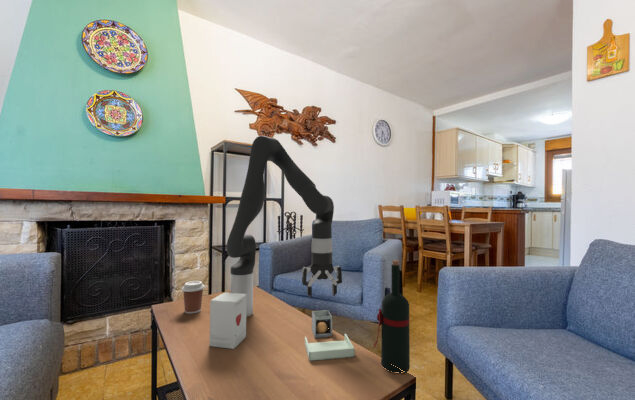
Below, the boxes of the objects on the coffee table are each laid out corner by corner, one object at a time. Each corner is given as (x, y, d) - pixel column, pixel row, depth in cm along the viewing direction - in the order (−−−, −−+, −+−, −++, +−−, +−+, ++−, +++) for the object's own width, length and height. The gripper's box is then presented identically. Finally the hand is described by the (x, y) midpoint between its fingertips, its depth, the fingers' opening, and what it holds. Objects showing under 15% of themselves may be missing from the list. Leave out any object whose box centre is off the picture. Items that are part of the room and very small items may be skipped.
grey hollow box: (311, 330, 103) (311, 311, 104) (328, 329, 104) (328, 310, 105) (314, 338, 97) (314, 317, 97) (332, 336, 98) (332, 316, 99)
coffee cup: (199, 305, 128) (200, 278, 128) (207, 311, 121) (208, 283, 122) (178, 310, 122) (178, 282, 122) (185, 316, 115) (185, 287, 116)
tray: (304, 344, 93) (304, 336, 93) (345, 341, 95) (345, 333, 95) (309, 360, 83) (309, 352, 83) (354, 356, 85) (354, 348, 85)
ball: (315, 331, 103) (315, 320, 103) (326, 330, 103) (326, 319, 103) (317, 336, 99) (317, 324, 99) (328, 335, 99) (328, 324, 99)
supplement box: (234, 349, 89) (234, 302, 89) (208, 346, 91) (209, 300, 91) (246, 336, 98) (247, 293, 98) (223, 334, 100) (224, 291, 100)
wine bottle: (373, 356, 86) (373, 257, 86) (408, 360, 84) (408, 258, 84) (373, 370, 78) (373, 262, 79) (411, 375, 76) (411, 264, 77)
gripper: (338, 248, 106) (338, 291, 106) (301, 249, 104) (301, 293, 103) (343, 251, 99) (344, 298, 98) (303, 252, 97) (303, 300, 96)
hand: (322, 295), depth 101 cm, fingers open, 8 cm apart
